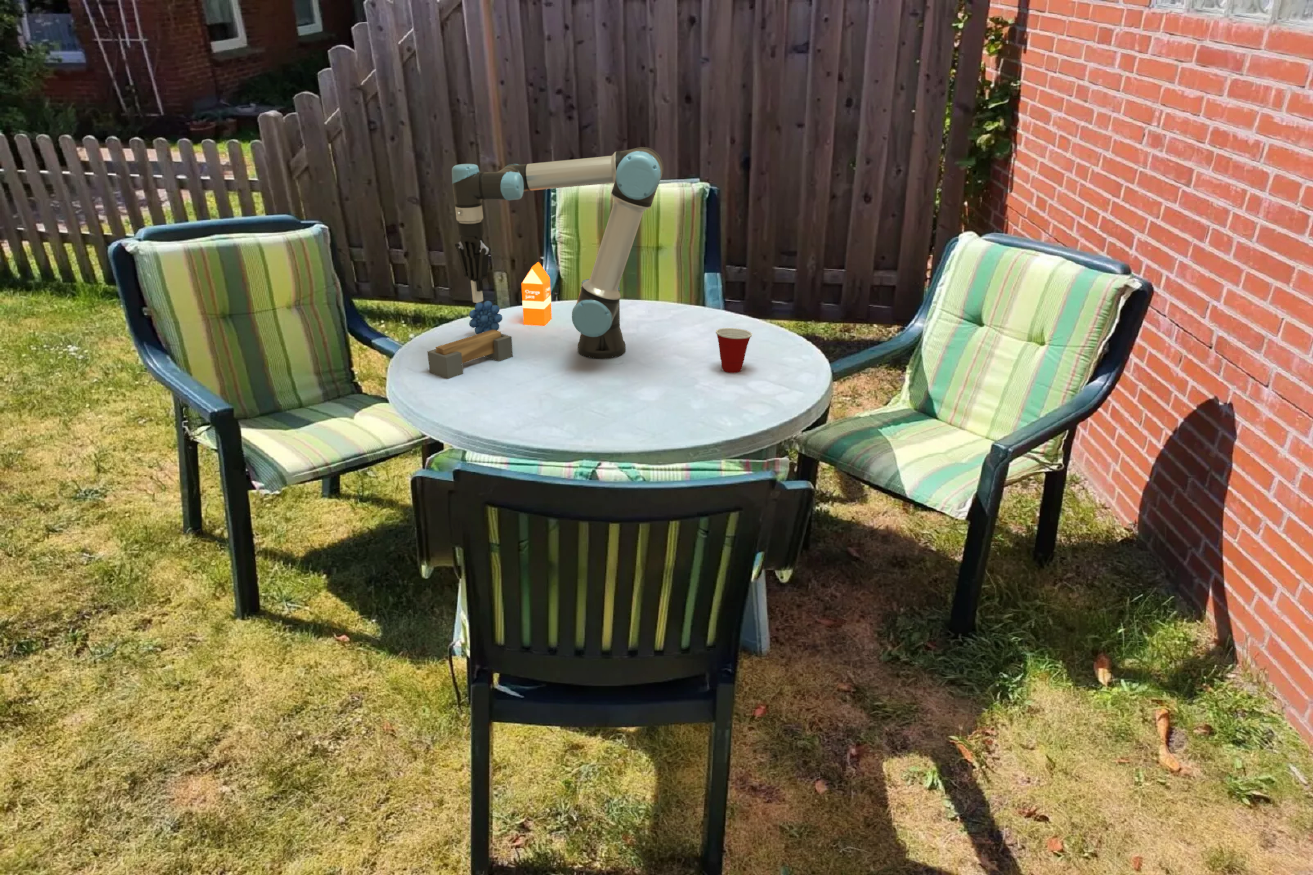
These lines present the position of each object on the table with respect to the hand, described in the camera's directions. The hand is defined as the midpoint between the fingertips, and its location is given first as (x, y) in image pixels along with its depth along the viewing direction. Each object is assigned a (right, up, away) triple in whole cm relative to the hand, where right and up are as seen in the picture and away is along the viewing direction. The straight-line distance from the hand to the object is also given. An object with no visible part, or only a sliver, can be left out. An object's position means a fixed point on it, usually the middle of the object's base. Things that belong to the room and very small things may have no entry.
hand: (478, 301), depth 265 cm
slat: (-3, -16, +5) cm, 17 cm away
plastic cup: (+76, -20, +3) cm, 78 cm away
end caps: (-3, -18, +6) cm, 19 cm away
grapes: (-3, -7, +32) cm, 33 cm away
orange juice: (+12, 0, +46) cm, 47 cm away
